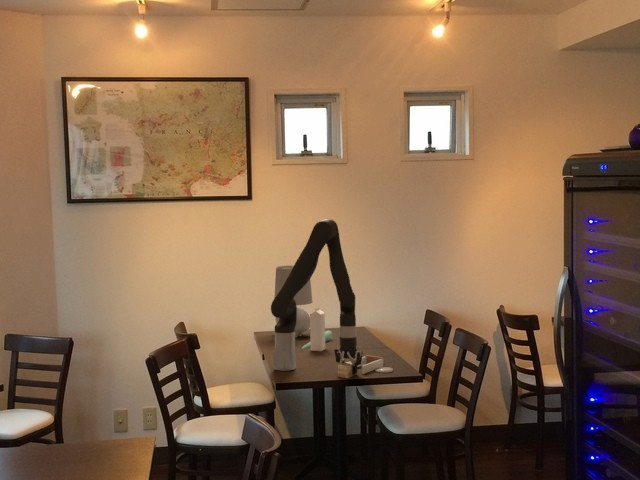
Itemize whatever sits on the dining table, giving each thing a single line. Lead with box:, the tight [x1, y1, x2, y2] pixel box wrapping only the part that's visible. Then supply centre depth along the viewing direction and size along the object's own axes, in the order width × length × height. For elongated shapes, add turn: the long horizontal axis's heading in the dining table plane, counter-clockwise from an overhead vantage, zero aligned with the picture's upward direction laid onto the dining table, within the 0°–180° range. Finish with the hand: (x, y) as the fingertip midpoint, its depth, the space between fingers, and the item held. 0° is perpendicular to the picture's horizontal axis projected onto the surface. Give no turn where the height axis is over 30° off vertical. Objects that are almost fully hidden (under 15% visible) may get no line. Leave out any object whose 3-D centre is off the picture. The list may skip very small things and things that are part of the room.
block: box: [337, 361, 358, 379], centre depth 308 cm, size 8×5×5 cm, turn 146°
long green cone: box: [301, 330, 334, 350], centre depth 374 cm, size 5×6×27 cm
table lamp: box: [273, 264, 313, 338], centre depth 397 cm, size 23×22×40 cm
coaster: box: [374, 366, 394, 374], centre depth 315 cm, size 8×8×1 cm
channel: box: [349, 354, 385, 375], centre depth 320 cm, size 17×10×4 cm, turn 142°
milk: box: [309, 306, 326, 352], centre depth 360 cm, size 6×6×22 cm
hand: (348, 373), depth 309 cm, fingers open, 5 cm apart
